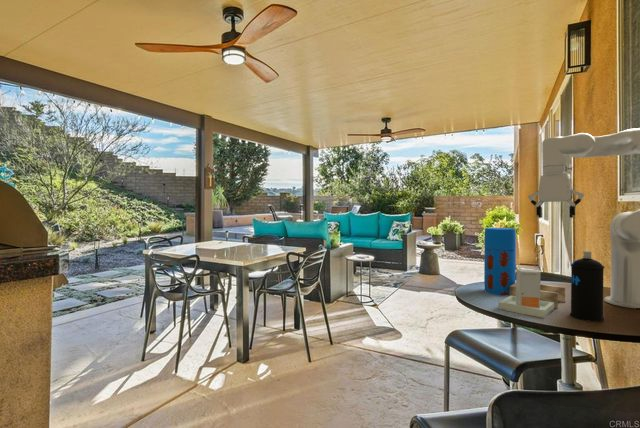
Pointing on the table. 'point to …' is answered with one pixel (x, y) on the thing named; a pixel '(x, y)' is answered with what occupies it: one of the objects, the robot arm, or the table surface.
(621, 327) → the table surface
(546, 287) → the bay
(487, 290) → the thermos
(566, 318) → the table surface
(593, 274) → the aerosol can
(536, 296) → the skincare box
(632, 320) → the table surface
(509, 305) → the tray
